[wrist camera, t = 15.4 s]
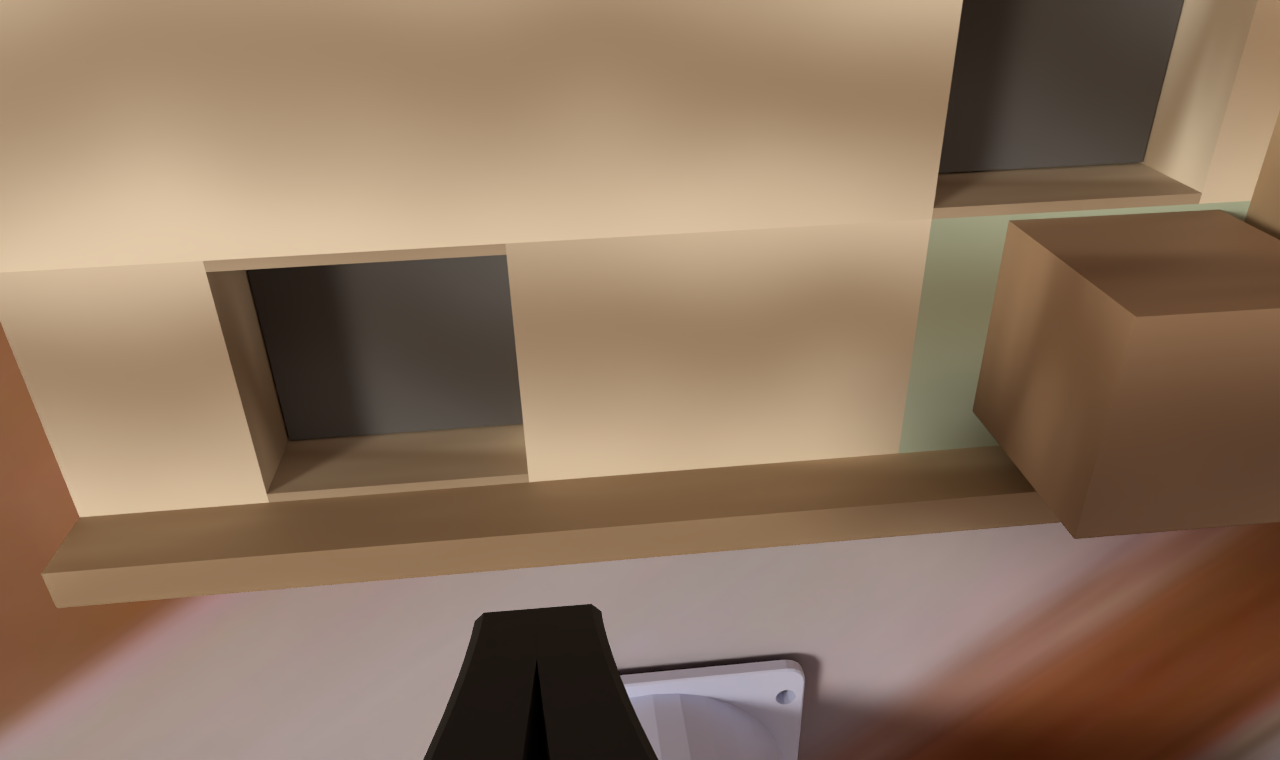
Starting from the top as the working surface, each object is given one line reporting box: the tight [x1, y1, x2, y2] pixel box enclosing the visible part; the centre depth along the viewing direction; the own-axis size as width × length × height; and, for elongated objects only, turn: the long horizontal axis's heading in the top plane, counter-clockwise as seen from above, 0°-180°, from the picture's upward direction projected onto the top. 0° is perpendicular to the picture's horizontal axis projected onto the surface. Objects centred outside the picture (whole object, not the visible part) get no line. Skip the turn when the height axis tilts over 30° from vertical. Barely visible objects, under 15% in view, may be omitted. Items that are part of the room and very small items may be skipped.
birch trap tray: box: [0, 0, 1280, 608], centre depth 16 cm, size 11×23×4 cm, turn 91°
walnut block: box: [972, 209, 1280, 539], centre depth 16 cm, size 4×4×4 cm
